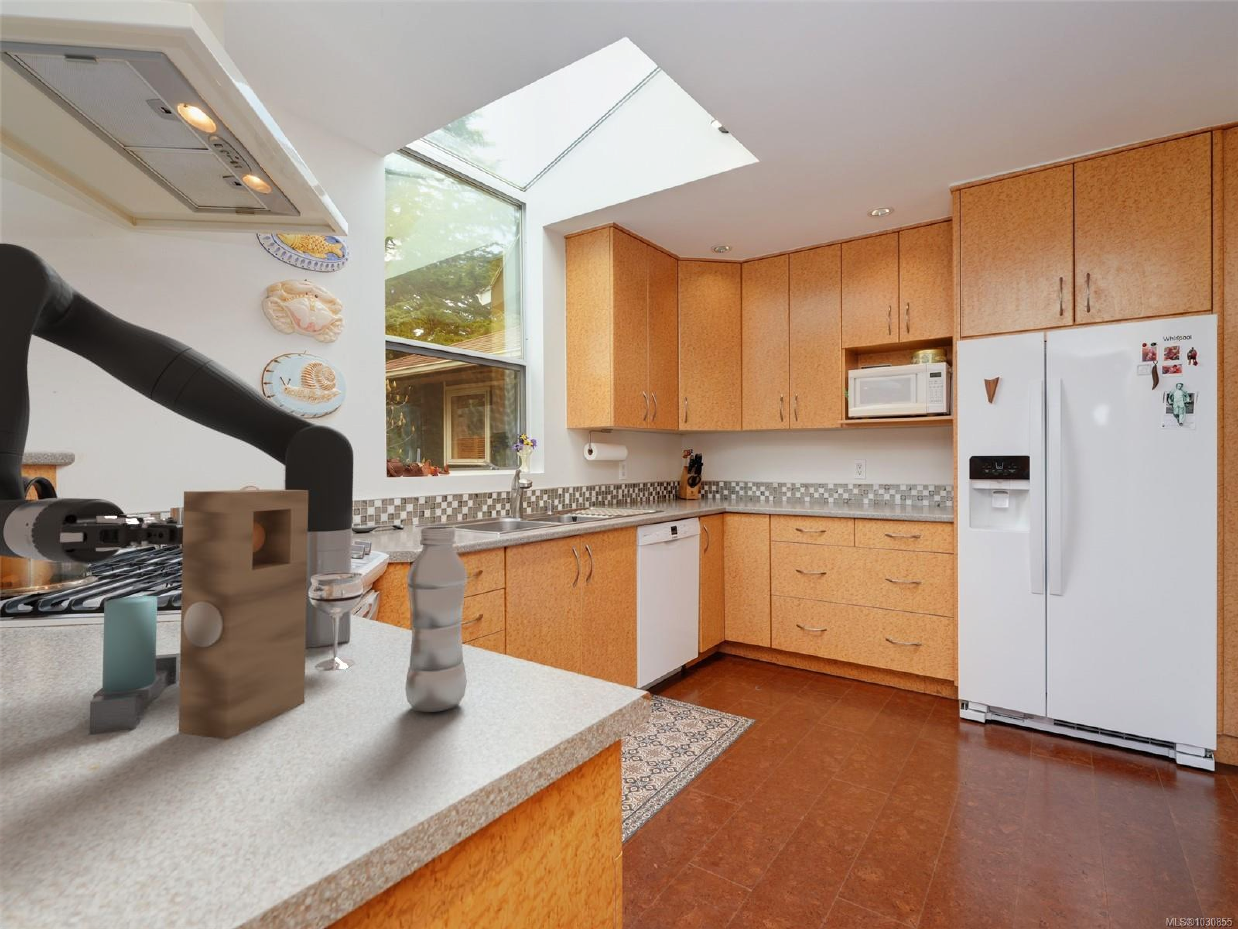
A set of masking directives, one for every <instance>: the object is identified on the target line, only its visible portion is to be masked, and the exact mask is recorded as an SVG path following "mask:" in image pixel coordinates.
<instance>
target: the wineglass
mask: <svg viewBox="0 0 1238 929" xmlns="http://www.w3.org/2000/svg"><path fill="white" fill-rule="evenodd" d="M362 577H363V573H362V572H356V571H351V572H333V573H323V574H317V575H313V576H310V577H309V578H310V580H311V582H312V585H311V586H310V589H309V599H310V602H311V604H312V605H313V606H314V607H316V608H317V609H318V610H319V611H321V612H324V613H326V614H329V616H330V618H333V644H332V646H333V647H332V649H333V650H332V652H333V657H332V658H329V659H327V660H323V661H321V662H318V663H317V664H315V665H314V668H315V669H316V670H319V671H335V670H341V669H346V668H348V667H349V668H350V667H352V666H353V665H354V664H355V663H356V661H355V660H353V659H349V658H344V657H343V658H341V657H338V655H337V654H338V643H337V642H338V626H339V617H341V616H342V615H343V614H342V613H344V612H346V611H348V610H350V609H351V610H352V609H353V608H354V607H355V606H356V605H357V604H358V603H359V602H360V601H361V598H362V596H363V594H364V592H363V591H364V587H363V583H362V582H361V579H362Z"/></svg>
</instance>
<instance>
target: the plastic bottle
mask: <svg viewBox="0 0 1238 929" xmlns="http://www.w3.org/2000/svg"><path fill="white" fill-rule="evenodd" d="M420 534H421V535H420V536H421V538H420V541H419V544H420V546H421V545H422V549H421V551H420V552H419V554H417V556H416V557H415V558H414V561H413V562H412V563H411V565H410V566H409V570H408V572H407V575H406V581H407V582H406V584H407V586H408V587H407V590H408V591H407V592H408V599H409V605H410V615H411V625H412V627H411V645H410V646H411V647H410V657H409V666H408V668H407V674H406V681H405V687H404V688H405V694H406V700H407V702H408V705H409V706H410V707H411V709H413V710H415V711H416V712H417V711H418V712H422V713H435V712H442V711H446V710H450V709H452V708H454V707H457V706H458V705H459V704H460V703H461V701H462V700H463V699H464V697H465V694H466V690H467V689H466V688H467V682H468V680H467V672H466V666H465V662H464V656H463V654H464V653H463V642H462V641H463V638H462V627H463V626H462V621H463V607H464V600H465V596H466V595H465V594H466V588H467V580H468V573H467V570H466V566H465V564H464V562H463V561H462V559H461V558H460V556H459V555H458V553H457V552H456V551H455V550H454V545H456V544H457V539H456V527H455V526H445V525H444V526H441V525H439V526H435V525H434V526H426V527H425V526H423V527H421V533H420Z"/></svg>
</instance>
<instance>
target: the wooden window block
mask: <svg viewBox="0 0 1238 929" xmlns="http://www.w3.org/2000/svg"><path fill="white" fill-rule="evenodd" d="M182 513H183V515H182V516H183V519H182V524H183V544H182V560H181V561H182V565H181V566H182V567H181V599H180V600H181V601H180V602H181V605H180V643H179V644H180V648H179V649H180V679H179V692H178V693H179V696H178V699H179V700H178V733H179V734H187V735H194V736H200V737H201V736H202V737H209V738H216V739H221V740H229V739H231V738H233V737H235V736H237V735H239V734H241V733H244V732H245V731H248V730H250V729H253V728H254V727H256V726H259V725H260V724H263V723H264V722H267V721H268V720H270V719H273V718H275V717H277V716H279V715H281V714H283V713H285V712H287V711H289V710H292V709H294V708H295V707H297V706H300V705H301V704H304V703H305V689H306V688H305V687H306V686H305V684H306V680H305V679H306V678H305V677H306V647H305V642H306V589H307V535H308V490H285V489H237V490H235V489H234V490H233V489H231V490H194V491H193V490H192V491H191V490H190V491H187V490H186V491H183V512H182ZM253 523H258V524H260V525H261V526H262V527H263V529H264V531H265V541H264V544H263V546H262V547H261V548H260V549H259V550H258V551H256V552H254V553H253Z"/></svg>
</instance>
